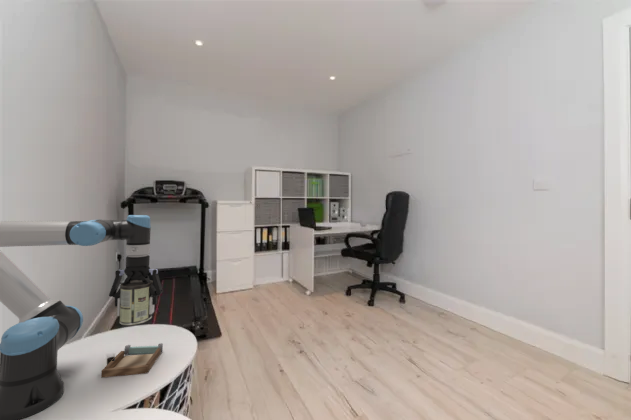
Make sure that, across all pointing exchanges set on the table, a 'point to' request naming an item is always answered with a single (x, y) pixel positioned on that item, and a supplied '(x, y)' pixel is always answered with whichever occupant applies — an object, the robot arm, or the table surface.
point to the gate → (142, 349)
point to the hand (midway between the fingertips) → (136, 313)
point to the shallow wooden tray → (130, 364)
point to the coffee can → (135, 302)
